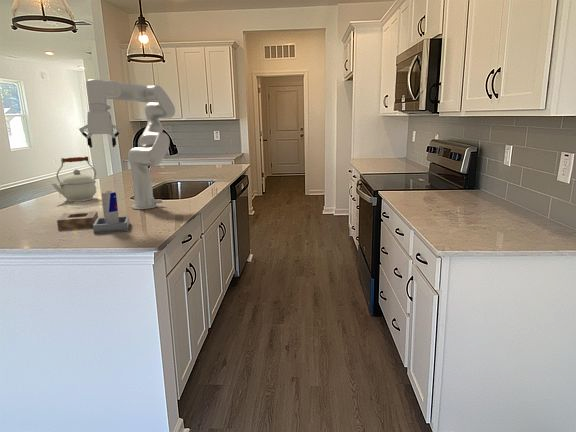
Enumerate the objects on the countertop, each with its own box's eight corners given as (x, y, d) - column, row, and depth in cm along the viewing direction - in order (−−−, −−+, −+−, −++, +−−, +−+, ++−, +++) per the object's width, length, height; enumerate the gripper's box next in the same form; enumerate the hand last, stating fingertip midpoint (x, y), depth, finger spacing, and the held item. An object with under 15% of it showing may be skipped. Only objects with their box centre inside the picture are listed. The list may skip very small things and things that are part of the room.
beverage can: (114, 227, 169) (110, 192, 165) (102, 227, 170) (98, 192, 166) (122, 224, 174) (118, 190, 171) (110, 224, 175) (106, 190, 172)
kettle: (91, 195, 251) (86, 155, 245) (105, 198, 239) (101, 156, 233) (48, 201, 232) (41, 158, 226) (61, 205, 220) (55, 159, 215)
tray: (129, 223, 180) (128, 215, 179) (127, 230, 168) (127, 222, 167) (98, 225, 176) (97, 218, 175) (93, 233, 164) (92, 225, 163)
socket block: (98, 219, 188) (97, 211, 187) (94, 226, 175) (93, 217, 174) (64, 221, 184) (63, 213, 183) (58, 229, 171) (56, 220, 170)
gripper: (119, 108, 186) (123, 146, 190) (78, 108, 181) (83, 147, 185) (118, 108, 179) (122, 147, 183) (75, 108, 174) (80, 148, 178)
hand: (102, 147), depth 184 cm, fingers open, 9 cm apart
